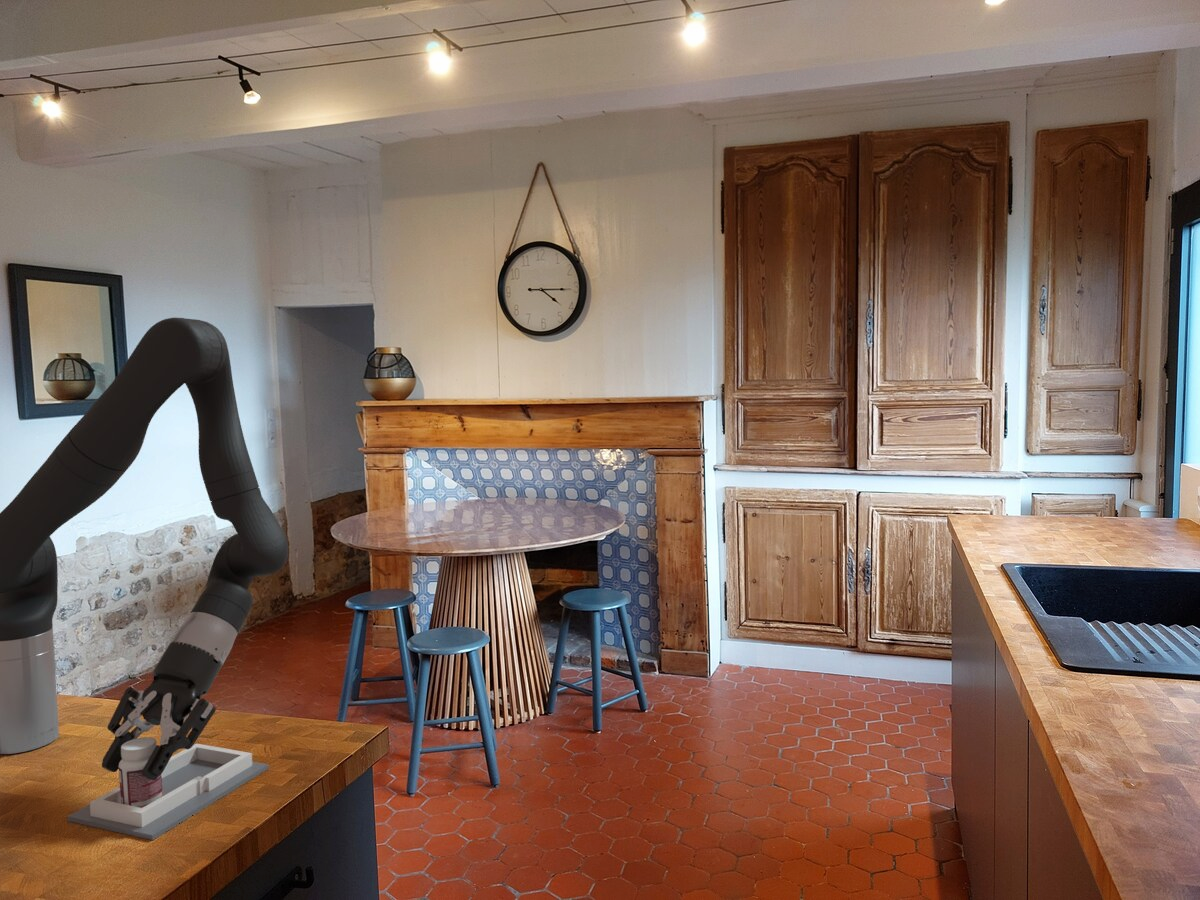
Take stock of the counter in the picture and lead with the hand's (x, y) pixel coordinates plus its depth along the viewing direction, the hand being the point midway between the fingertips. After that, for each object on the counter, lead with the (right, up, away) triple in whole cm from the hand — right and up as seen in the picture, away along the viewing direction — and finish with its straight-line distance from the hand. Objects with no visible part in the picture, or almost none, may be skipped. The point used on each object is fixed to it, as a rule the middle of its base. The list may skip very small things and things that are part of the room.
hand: (128, 773), depth 107 cm
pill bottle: (+1, -5, +2) cm, 6 cm away
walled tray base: (+2, -5, +7) cm, 9 cm away
